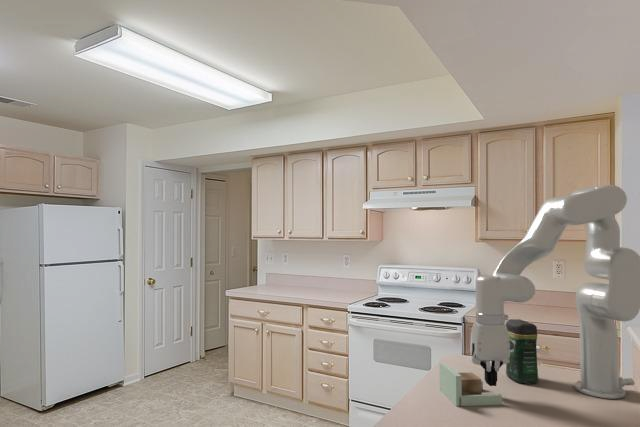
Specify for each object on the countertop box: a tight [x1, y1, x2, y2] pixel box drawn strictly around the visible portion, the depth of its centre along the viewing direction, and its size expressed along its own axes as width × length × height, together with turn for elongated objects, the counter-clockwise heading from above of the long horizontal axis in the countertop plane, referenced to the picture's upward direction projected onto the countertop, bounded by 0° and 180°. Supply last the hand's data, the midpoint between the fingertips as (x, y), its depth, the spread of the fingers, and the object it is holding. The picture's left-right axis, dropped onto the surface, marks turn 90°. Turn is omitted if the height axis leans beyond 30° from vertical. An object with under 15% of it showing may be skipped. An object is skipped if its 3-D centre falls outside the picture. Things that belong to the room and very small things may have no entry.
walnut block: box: [457, 371, 483, 395], centre depth 125 cm, size 6×6×6 cm
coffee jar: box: [505, 318, 539, 385], centre depth 141 cm, size 10×8×19 cm
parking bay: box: [439, 362, 503, 407], centre depth 125 cm, size 13×12×8 cm
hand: (491, 384), depth 126 cm, fingers closed
